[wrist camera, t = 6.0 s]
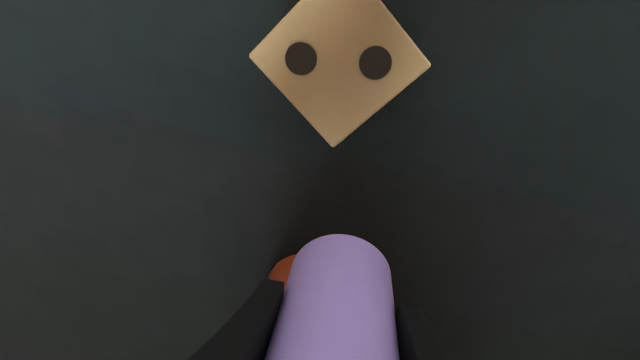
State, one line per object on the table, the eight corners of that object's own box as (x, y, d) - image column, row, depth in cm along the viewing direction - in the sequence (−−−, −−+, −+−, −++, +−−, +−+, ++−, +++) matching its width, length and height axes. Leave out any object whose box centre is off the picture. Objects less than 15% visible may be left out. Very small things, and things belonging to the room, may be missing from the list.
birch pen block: (415, 54, 17) (432, 66, 13) (340, 119, 18) (332, 149, 14) (349, -30, 16) (343, -48, 12) (275, 46, 17) (246, 56, 13)
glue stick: (413, 283, 13) (458, 526, 7) (336, 330, 15) (314, 571, 8) (345, 212, 13) (326, 413, 6) (269, 268, 14) (188, 484, 7)
